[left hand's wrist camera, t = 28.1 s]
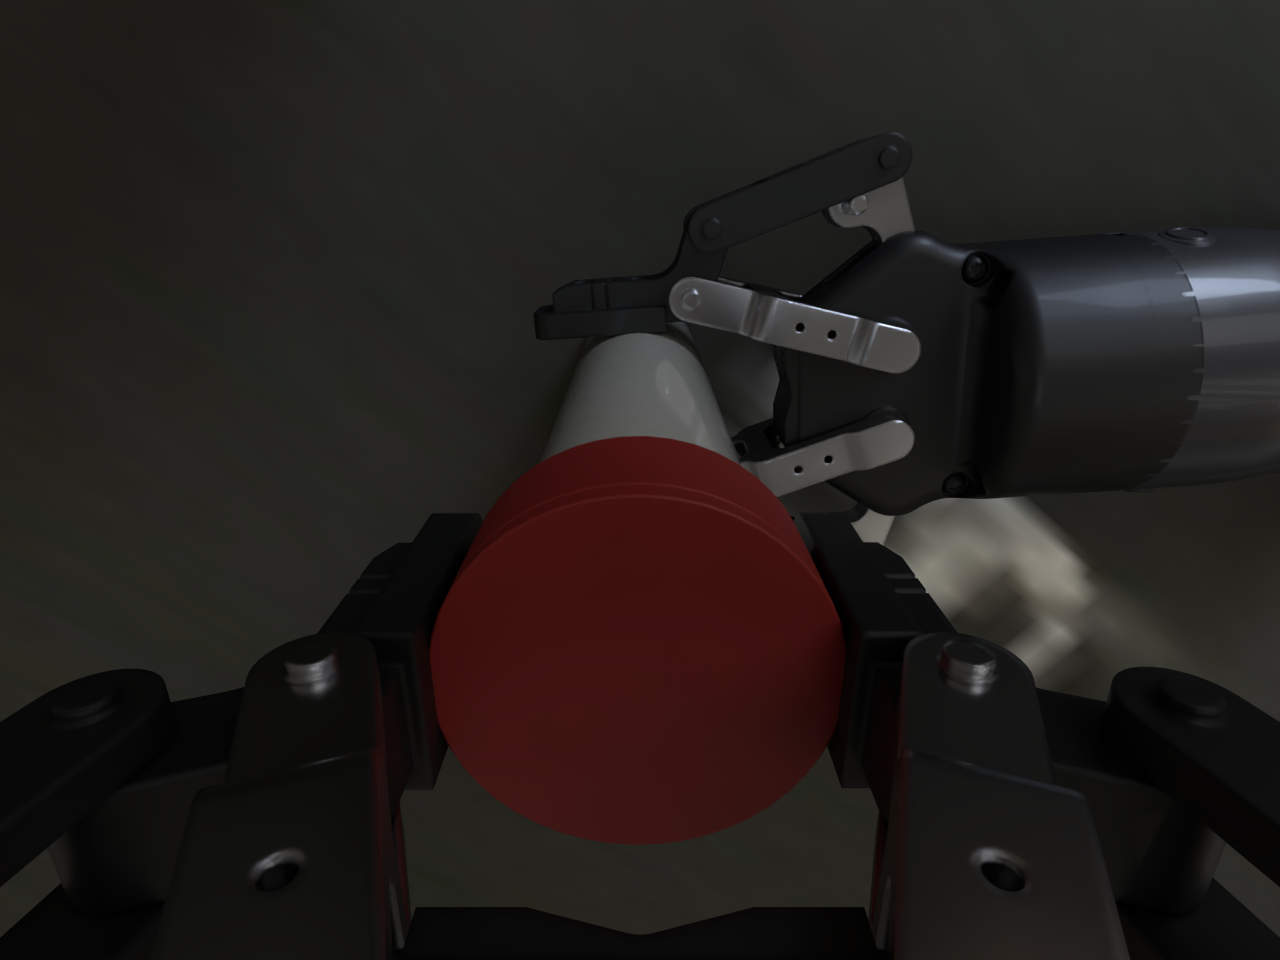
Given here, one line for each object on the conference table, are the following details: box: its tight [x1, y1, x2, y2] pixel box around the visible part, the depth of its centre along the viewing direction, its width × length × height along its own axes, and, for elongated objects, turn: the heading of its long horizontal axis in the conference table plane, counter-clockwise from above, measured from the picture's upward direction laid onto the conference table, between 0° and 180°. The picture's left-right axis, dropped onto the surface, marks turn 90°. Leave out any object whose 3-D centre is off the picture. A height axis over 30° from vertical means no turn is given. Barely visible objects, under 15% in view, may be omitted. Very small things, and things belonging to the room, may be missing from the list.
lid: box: [429, 436, 846, 845], centre depth 10 cm, size 5×5×2 cm
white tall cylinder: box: [537, 322, 741, 466], centre depth 19 cm, size 4×4×19 cm
